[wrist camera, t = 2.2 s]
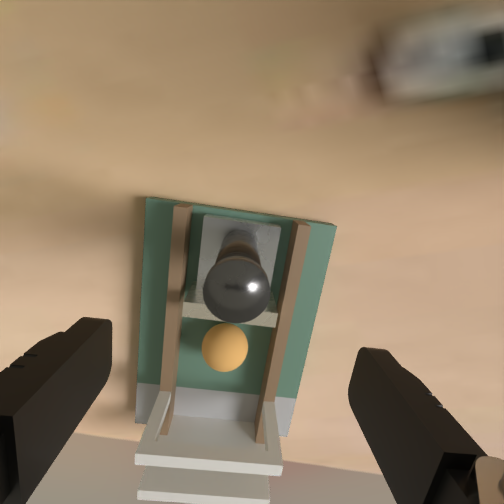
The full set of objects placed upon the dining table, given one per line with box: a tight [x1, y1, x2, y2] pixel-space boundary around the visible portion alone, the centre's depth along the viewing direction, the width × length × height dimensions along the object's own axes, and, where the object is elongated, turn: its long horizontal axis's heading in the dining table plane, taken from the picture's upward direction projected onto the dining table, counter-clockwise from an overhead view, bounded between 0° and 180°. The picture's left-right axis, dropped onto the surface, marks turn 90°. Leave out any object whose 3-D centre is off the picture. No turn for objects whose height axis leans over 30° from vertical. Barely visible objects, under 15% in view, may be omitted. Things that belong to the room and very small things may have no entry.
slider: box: [182, 214, 281, 328], centre depth 18 cm, size 7×7×10 cm
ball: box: [202, 323, 248, 372], centre depth 23 cm, size 4×4×4 cm
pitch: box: [135, 197, 337, 504], centre depth 22 cm, size 23×16×10 cm
